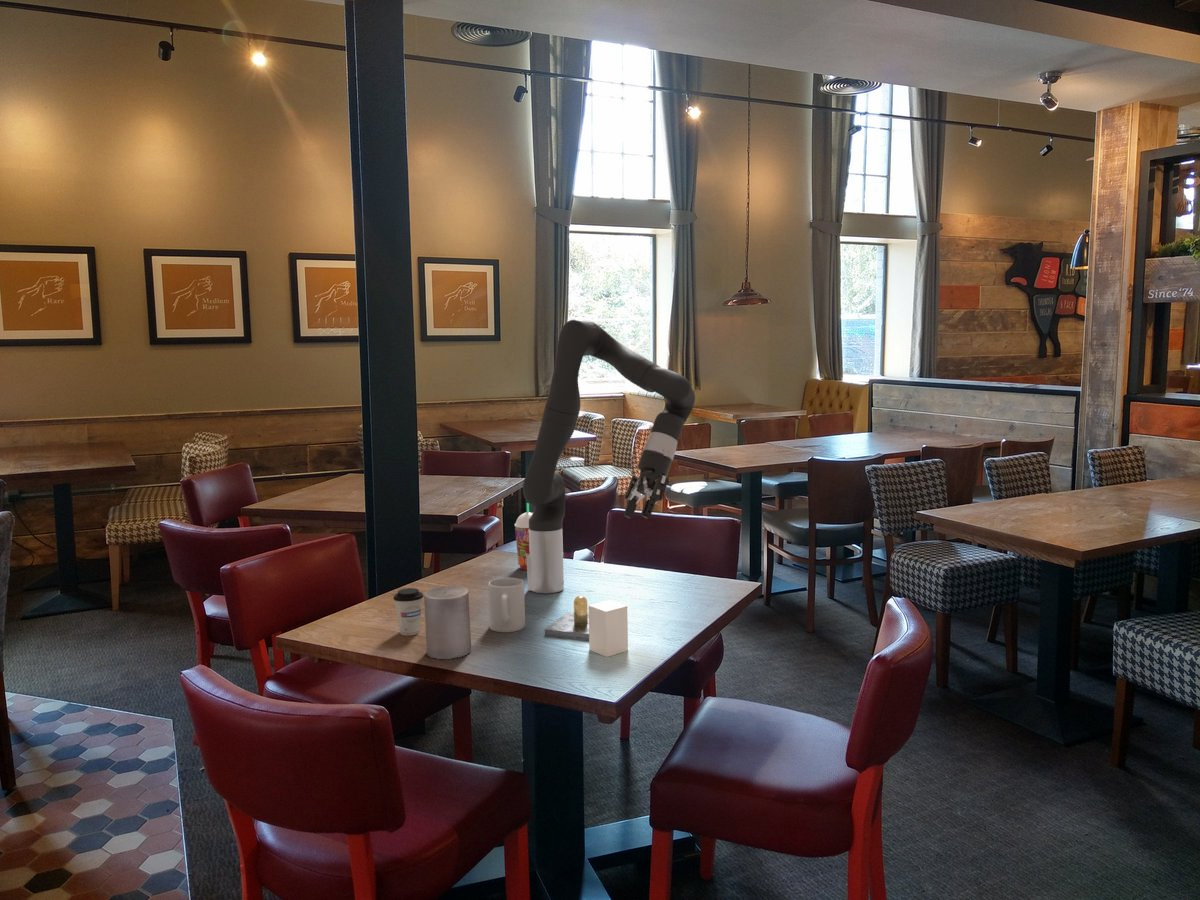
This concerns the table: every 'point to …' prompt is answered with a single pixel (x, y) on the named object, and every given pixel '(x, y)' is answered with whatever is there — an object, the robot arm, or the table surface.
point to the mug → (506, 604)
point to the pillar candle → (447, 622)
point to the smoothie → (523, 538)
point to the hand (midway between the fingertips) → (636, 517)
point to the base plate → (572, 622)
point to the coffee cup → (408, 610)
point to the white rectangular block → (608, 628)
